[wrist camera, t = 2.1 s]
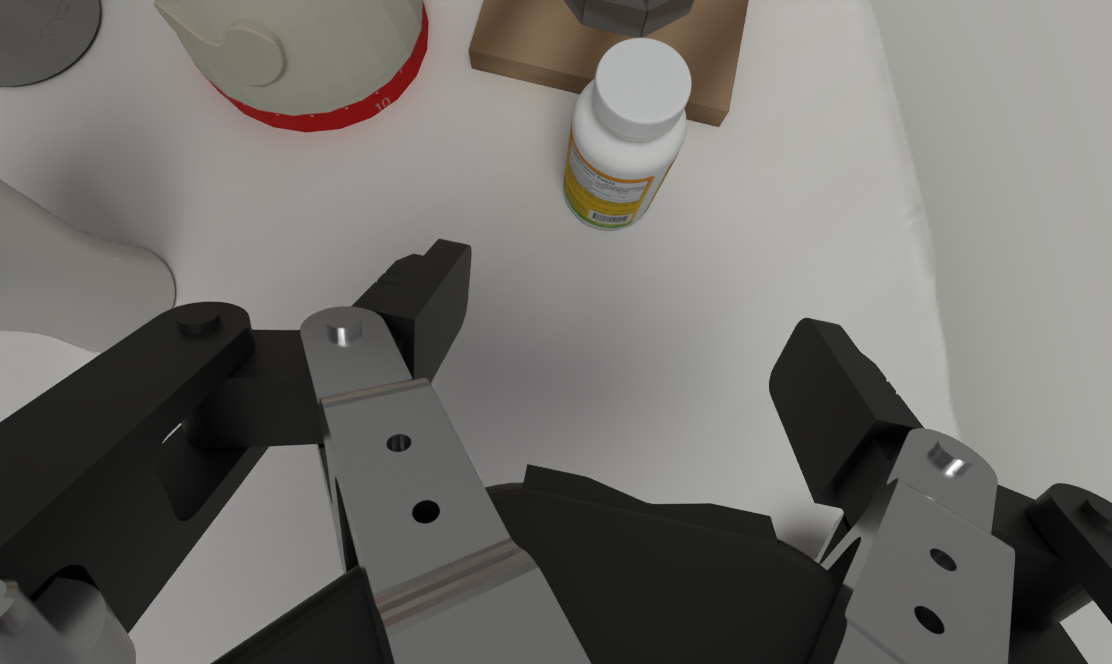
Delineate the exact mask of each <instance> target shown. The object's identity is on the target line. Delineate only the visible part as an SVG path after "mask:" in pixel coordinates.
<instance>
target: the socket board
mask: <svg viewBox="0 0 1112 664" xmlns="http://www.w3.org/2000/svg"><path fill="white" fill-rule="evenodd" d="M747 6H748V0H484V2H483V5H482V8H481V11H480V15H479V18H478V21H477V25H476V28H475V31H474V35H473V38H472V41H471V44H470V48H469V54H470V60H471V66H472V68H474V69H478V70H482V71H486V72H490V73H495V74H499V75H503V76H507V77H511V78H516V79H520V80H524V81H528V82H532V83H537V84H541V85H545V86H549V87H554V88H558V89H562V90H566V91H570V92H575V93H579V94H581V92H582V91H583V90H584V88H585V87H586V86H587V85H588V84H589V83H590V82H591V81H592V80H594V79H595V75H596V71H597V67H598V64H599V62H600V60H601V59H602V57H603V56H604V54H605V53H606V52H607V51H608V50H609V49H610V48H611V47H613V46H614V45H616V44H618V43H620V42H622V41H625V40H628V39H633V38H649V39H654V40H657V41H660V42H663V43H665V44H667V45H669V46H670V47H672V48H673V49H674V50H675V51H677V52H678V53H679V54H680V55H681V57H682V58H683V59H684V61H685V62H686V64H687V66H688V68H689V71H690V75H691V85H692V86H691V93H690V96H689V99H688V101H687V104H686V106H685V108H684V109H685V113H686V119H688V120H692V121H697V122H701V123H705V124H709V125H713V126H718V127H719V126H720V125H721V123H722V121H723V120H724V118H725V117H726V115H727V114H728V112H729V107H730V102H731V96H732V90H733V85H734V79H735V73H736V68H737V62H738V57H739V51H740V45H741V40H742V34H743V28H744V23H745V17H746V12H747Z"/></svg>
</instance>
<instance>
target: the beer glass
mask: <svg viewBox="0 0 1112 664" xmlns="http://www.w3.org/2000/svg"><path fill="white" fill-rule="evenodd" d="M174 300H175V284H174V280H173V277H172V274H171V272H170V270H169V268H168V267H167V265H166V264H165V263H164V262H163V261H162V260H161V259H160V258H159V257H158V256H156V255H155V254H153V253H152V252H150V251H148V250H146V249H143V248H141V247H138V246H134V245H129V244H125V243H120V242H115V241H111V240H107V239H103V238H100V237H97V236H94V235H91V234H89V233H86V232H84V231H82V230H80V228H79V229H78V228H76V227H74V226H72V225H71V224H69V223H68V222H66V221H64V220H63V219H61V218H59V217H58V216H56V215H55V214H53V213H52V212H50V211H49V210H47V209H46V208H44V207H42V206H41V205H39V204H38V203H36V202H35V201H33V200H32V199H30V198H29V197H27V196H26V195H24V194H22V193H21V192H19V191H18V190H16V189H15V188H13V187H12V186H10V185H8V184H7V183H5V182H4V181H2V180H1V179H0V331H16V332H27V333H35V334H40V335H45V336H49V337H52V338H55V339H58V340H61V341H64V342H66V343H69V344H71V345H74V346H77V347H79V348H83V349H86V350H89V351H94V352H100V353H103V352H105V351H106V350H108V349H109V348H111V347H112V346H113V345H115V344H116V343H118V342H119V341H121V340H122V339H124V338H125V337H127V336H128V335H130V334H131V333H133V332H134V331H136V330H137V329H139V328H140V327H141V326H143V325H144V324H146V323H147V322H149V321H150V320H152V319H153V318H155V317H156V316H158V315H160V314H161V313H163V312H165V311H167V310H170V309H172V308H173V304H174Z"/></svg>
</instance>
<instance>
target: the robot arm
mask: <svg viewBox="0 0 1112 664" xmlns="http://www.w3.org/2000/svg"><path fill="white" fill-rule="evenodd" d="M99 15H100V6H99V0H0V86H17V85H25V84H30V83H34V82H37V81H40V80H44V79H46V78H48V77H50V76H52V75H54V74H56V73H58V72H60V71H62V70H63V69H65V68H66V67H67V66H69V65H70V64H72V63H73V62H74V61H75V60H76V59H77V58H78V57H79V56H80V55H81V54H82V53H83V52H84V51H85V50H86V48H87V47H88V45H89V44H90V42H91V40H92V39H93V37H94V35H95V32H96V29H97V26H98V23H99ZM470 267H471V246H470V245H467V244H462V243H457V242H453V241H448V240H443V239H438V240H437V241H436V242H435V243H434V245H433V246H432V247H431V248H430V249H429V250H428V251H427V253H426V254H425V255H424V256H422V255H417V254H412V255H409V256H407V257H404V258H402V259H399V260H397V261H395V262H394V264H393V265H392V266H391V267H390V268H389V269H388V270H387V271H386V274H385V273H384V274H383V275H382V276H381V277H380V278H379V279H378V281H377V282H375V283H374V284H373V285H372V286H371V287H370V288H369V289H368V290H367V291H366V292H365V293H364V294H363V295H362V296H361V297H360V298H359V299H358V300H357V301H356V302H355V303H354V304H353V305H352V306H351V307H335V308H329V309H325V310H322V311H319V312H317V313H315V314H313V315H311V316H310V317H308V318H307V319H306V320H305V321H304V322H303V323H302V325H301V328H300V330H252V328H251V323H250V318H249V315H248V313H247V312H246V311H245V310H244V309H242V308H241V307H239V306H236V305H233V304H229V303H223V302H198V303H191V304H186V305H182V306H178V307H175V308H172V309H170V310H167V311H165V312H163V313H161V314H160V315H158V316H156V317H155V318H153V319H152V320H150V321H149V322H147V323H146V324H144V325H143V326H141V327H140V328H139V329H137V330H136V331H134V332H133V333H131V334H130V335H128V336H127V337H125V338H124V339H122V340H121V341H119V342H118V343H116V344H115V345H113V346H112V347H111V348H109V349H108V350H106V351H105V352H103V353H102V354H100V355H99V356H97V357H96V358H94V359H93V360H91V361H90V362H88V363H87V364H85V365H84V366H83V367H81V368H80V369H78V370H77V371H75V372H74V373H72V374H71V375H69V376H68V377H66V378H65V379H63V380H62V381H60V382H59V383H57V384H56V385H55V386H53V387H52V388H50V389H49V390H47V391H46V392H44V393H43V394H41V395H40V396H38V397H37V398H35V399H34V400H32V401H31V402H29V403H28V404H27V405H25V406H24V407H22V408H21V409H19V410H18V411H16V412H15V413H13V414H12V415H10V416H9V417H7V418H6V419H4V420H3V421H1V422H0V664H136V651H135V647H134V644H133V642H132V640H131V638H130V637H129V635H128V633H129V632H130V631H131V629H132V628H133V627H134V625H135V624H136V623H137V621H138V620H139V619H140V617H141V616H142V615H143V613H144V612H145V611H146V609H147V608H148V607H149V605H150V604H151V603H152V601H153V600H154V599H155V597H156V596H157V595H158V593H159V592H160V591H161V589H162V588H163V587H164V585H165V584H166V583H167V581H168V580H169V579H170V577H171V576H172V575H173V573H174V572H175V571H176V569H177V568H178V567H179V566H180V564H181V563H182V562H183V560H184V559H185V558H186V556H187V555H188V554H189V552H190V551H191V550H192V548H193V547H194V546H195V544H196V543H197V542H198V540H199V539H200V538H201V536H202V535H203V534H204V532H205V531H206V530H207V528H208V527H209V526H210V524H211V523H212V522H213V520H214V519H215V518H216V516H217V515H218V514H219V512H220V511H221V510H222V508H223V507H224V506H225V504H226V503H227V502H228V500H229V499H230V498H231V497H232V495H233V494H234V493H235V491H236V490H237V489H238V487H239V486H240V485H241V483H242V482H243V481H244V479H245V478H246V477H247V475H248V474H249V473H250V471H251V470H252V469H253V467H254V466H255V465H256V463H257V462H258V461H259V459H260V458H261V457H262V455H263V454H264V453H265V451H266V450H267V449H268V447H269V446H284V445H305V444H316V446H317V450H318V455H319V459H320V464H321V468H322V472H323V477H324V481H325V485H326V490H327V494H328V498H329V503H330V507H331V511H332V516H333V520H334V525H335V530H336V536H337V542H338V547H339V553H340V558H341V563H342V568H343V572H344V574H343V575H342V576H340V577H339V578H338V579H336V580H335V581H333V582H332V583H330V584H329V585H327V586H326V587H324V588H323V589H321V590H320V591H318V592H317V593H315V594H314V595H312V596H311V597H309V598H308V599H306V600H305V601H303V602H302V603H300V604H299V605H297V606H296V607H294V608H293V609H291V610H290V611H288V612H287V613H285V614H284V615H282V616H281V617H279V618H278V619H276V620H275V621H273V622H272V623H270V624H269V625H268V626H266V627H265V628H263V629H262V630H260V631H259V632H257V633H256V634H254V635H253V636H251V637H250V638H248V639H247V640H245V641H244V642H242V643H241V644H239V645H238V646H236V647H235V648H233V649H232V650H230V651H229V652H227V653H226V654H224V655H223V656H221V657H220V658H218V659H217V660H215V661H214V662H212V663H211V664H1088V663H1087V661H1086V660H1085V659H1084V657H1083V656H1082V654H1081V653H1080V651H1079V650H1078V648H1077V647H1076V646H1075V644H1074V643H1073V641H1072V640H1071V638H1070V637H1069V635H1068V634H1067V632H1066V631H1065V630H1064V628H1063V627H1062V625H1061V624H1060V621H1062V620H1064V619H1065V618H1067V617H1068V616H1070V615H1071V614H1073V613H1074V612H1076V611H1077V610H1079V609H1080V608H1082V607H1083V606H1085V605H1087V604H1088V603H1090V602H1091V601H1093V600H1094V602H1095V603H1096V604H1097V606H1098V607H1099V608H1100V609H1101V611H1102V612H1103V613H1104V614H1105V616H1106V617H1107V618H1108V620H1109V621H1110V622H1111V624H1112V503H1111V502H1109V501H1107V500H1106V499H1104V498H1102V497H1100V496H1098V495H1096V494H1094V493H1092V492H1090V491H1087V490H1085V489H1082V488H1080V487H1076V486H1073V485H1069V484H1062V483H1058V484H1054V485H1052V486H1051V487H1050V488H1049V489H1048V490H1046V491H1045V492H1044V493H1043V494H1042V495H1041V496H1039V497H1038V498H1037V499H1036V500H1035V499H1032V498H1029V497H1027V496H1025V495H1022V494H1020V493H1017V492H1014V491H1013V490H1010V489H1008V488H1005V487H1003V486H1000V485H998V484H997V483H998V482H997V476H996V474H995V472H994V471H993V469H992V468H991V467H990V465H989V464H988V463H987V462H986V461H985V460H984V459H983V458H982V457H981V456H980V455H978V454H977V453H976V452H974V451H973V450H972V449H971V448H969V447H968V446H966V445H965V444H963V443H961V442H960V441H958V440H956V439H954V438H952V437H950V436H948V435H945V434H943V433H940V432H937V431H934V430H930V429H924V427H923V426H922V425H921V423H920V422H919V421H918V419H917V418H916V417H915V415H914V414H913V413H912V412H911V410H910V409H909V408H908V406H907V405H906V404H905V402H904V401H903V400H902V398H901V397H900V396H899V395H898V394H896V391H895V389H894V388H893V387H892V385H891V384H890V383H889V382H887V381H886V377H885V376H884V375H883V373H882V372H881V371H880V369H879V368H878V367H877V366H876V364H875V363H874V362H872V361H871V360H870V359H869V358H867V357H866V356H865V355H864V354H862V353H861V352H860V351H859V350H858V348H857V347H856V346H855V344H854V343H853V341H852V340H851V339H850V337H849V336H848V335H847V333H846V332H845V331H844V329H843V328H842V327H841V326H840V325H838V324H834V323H829V322H825V321H820V320H815V319H811V318H804V319H802V320H801V321H800V322H799V323H798V324H797V325H796V327H795V329H794V331H793V332H792V334H791V336H790V338H789V340H788V342H787V344H786V345H785V347H784V349H783V351H782V353H781V355H780V357H779V358H778V360H777V362H776V364H775V366H774V368H773V370H772V372H771V376H770V380H769V391H770V395H771V397H772V400H773V402H774V405H775V407H776V410H777V412H778V415H779V417H780V420H781V422H782V424H783V427H784V429H785V432H786V434H787V437H788V439H789V442H790V444H791V446H792V449H793V451H794V454H795V456H796V459H797V461H798V464H799V466H800V468H801V471H802V473H803V476H804V478H805V481H806V483H807V486H808V488H809V491H810V493H811V495H812V498H813V500H814V503H818V504H823V505H827V506H832V507H837V508H841V509H842V510H843V512H844V513H843V514H842V515H841V516H840V518H839V519H838V520H837V521H836V523H835V524H834V526H833V528H832V529H831V531H830V533H829V535H828V537H827V539H826V541H825V543H824V545H823V547H822V549H821V551H820V552H819V554H818V556H817V558H816V560H813V559H812V558H810V557H809V556H807V555H806V554H804V553H803V552H801V551H800V550H798V549H796V548H795V547H793V546H791V545H789V544H787V543H785V542H783V541H781V540H779V539H777V537H776V534H775V530H774V527H773V524H772V521H771V517H770V516H767V515H762V514H757V513H753V512H748V511H743V510H739V509H734V508H729V507H725V506H720V505H715V504H711V503H707V504H650V503H646V502H643V501H641V500H639V499H636V498H634V497H632V496H629V495H627V494H625V493H623V492H620V491H618V490H616V489H613V488H611V487H609V486H607V485H604V484H602V483H600V482H597V481H595V480H593V479H591V478H588V477H585V476H580V475H575V474H571V473H566V472H562V471H557V470H552V469H548V468H543V467H538V466H534V465H529V464H527V469H526V474H525V478H524V483H507V484H499V485H494V486H490V487H486V488H485V487H484V486H483V484H482V482H481V480H480V478H479V476H478V474H477V472H476V470H475V468H474V466H473V464H472V462H471V461H470V459H469V457H468V455H467V453H466V451H465V449H464V447H463V445H462V443H461V441H460V439H459V437H458V436H457V434H456V432H455V430H454V428H453V426H452V424H451V422H450V420H449V418H448V416H447V414H446V412H445V411H444V409H443V407H442V405H441V403H440V401H439V399H438V397H437V395H436V393H435V391H434V389H433V387H432V386H431V382H432V380H433V378H434V376H435V374H436V373H437V371H438V369H439V367H440V365H441V363H442V361H443V360H444V358H445V356H446V354H447V352H448V350H449V349H450V347H451V345H452V343H453V341H454V339H455V338H456V336H457V334H458V332H459V330H460V328H461V326H462V324H463V321H464V318H465V314H466V309H467V302H468V290H469V279H470ZM180 423H181V426H180V427H179V428H178V429H177V430H176V431H175V432H174V433H173V434H172V435H171V436H170V437H169V438H168V439H167V440H166V441H165V442H164V443H163V444H162V442H163V441H164V439H165V438H166V437H167V436H168V435H169V433H170V432H171V431H172V430H174V429H175V428H176V427H177V426H178V425H179V424H180ZM161 444H162V445H161Z"/></svg>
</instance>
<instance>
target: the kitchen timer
mask: <svg viewBox="0 0 1112 664" xmlns="http://www.w3.org/2000/svg"><path fill="white" fill-rule="evenodd" d="M154 5H155V7H156V8H157V10H158V11H159V13H160V14H161V15H162V17H163V18H164V19H165V20H166V21H167V23H168V24H169V25H170V26H171V27H172V29H173V30H174V31H175V32H176V34H177V35H178V37H179V39H180V40H181V42H182V44H183V45H184V47H185V49H186V51H187V52H188V54H189V55H190V57H191V59H192V60H193V62H194V63H195V65H196V66H197V67H198V69H199V70H200V71H201V73H202V74H203V75H204V76H205V77H206V78H207V79H208V80H209V81H210V83H211V84H212V85H213V86H214V87H215V88H216V89H217V90H218V91H219V92H220V93H221V94H222V95H223V96H224V97H225V98H227V99H228V100H229V101H230V102H231V103H232V104H234V105H235V106H236V107H237V108H238V109H239V110H240V111H242V112H243V113H244V114H246V115H248V116H250V117H252V118H255V119H257V120H259V121H261V122H263V123H266V124H268V125H270V126H272V127H276V128H283V129H289V130H295V131H302V132H314V131H324V130H335V129H341V128H344V127H347V126H350V125H352V124H355V123H358V122H361V121H363V120H366V119H369V118H371V117H373V116H374V115H376V114H377V113H379V112H380V111H381V110H383V109H384V108H386V107H387V106H389V105H390V104H392V103H393V102H394V101H396V100H397V99H398V98H399V97H400V96H401V94H402V93H403V92H404V91H405V89H406V88H407V87H408V86H409V85H410V83H411V82H412V81H413V80H414V78H415V77H416V76H417V73H418V71H419V68H420V66H421V63H422V61H423V58H424V56H425V53H426V51H427V40H428V19H427V15H426V11H425V7H424V3H423V0H155V1H154Z"/></svg>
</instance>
